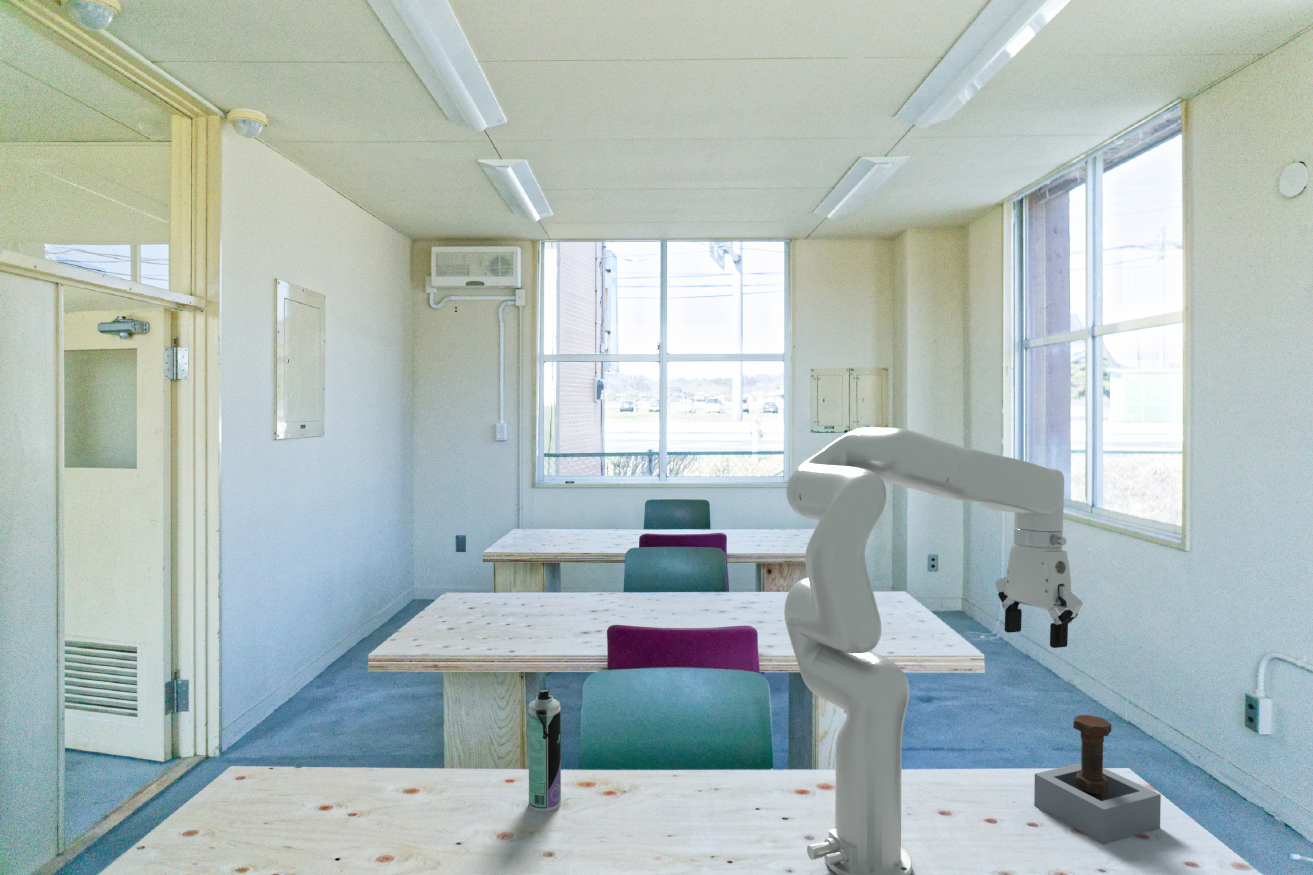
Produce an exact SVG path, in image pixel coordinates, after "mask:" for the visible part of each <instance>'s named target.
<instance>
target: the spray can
mask: <svg viewBox="0 0 1313 875" xmlns="http://www.w3.org/2000/svg"><path fill="white" fill-rule="evenodd" d="M550 693H551V692H550V689H549V688H541V689H540V691H539V693H538V695H537V696H536V698H535V699H534V700H533V701H531V702H530V703H529V704H528V807H529V809H530V810H531V811H533V812H535V813H540V814H541V813H543V814H544V813H545V814H546V813H551V812H553V811H555V810H557V809H559V808H560V807H561V803H562V782H561V781H562V778H561V776H562V774H561V773H562V769H561V768H562V767H561V766H562V765H561V763H562V761H561V760H562V758H561V752H562V751H561V749H562V748H561V747H562V746H561V745H562V744H561V739H562V738H561V736H562V734H561V733H562V732H561V724H562V723H561V702H560V701H559V700H558V699H555V698H553V695H551V694H550Z"/></svg>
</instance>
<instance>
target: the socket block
mask: <svg viewBox="0 0 1313 875" xmlns="http://www.w3.org/2000/svg"><path fill="white" fill-rule="evenodd" d="M1078 772H1081V762H1080V763H1075V764H1070V765H1067V766H1062V767H1058V768H1053V769H1049V770H1045V771H1040V772H1036V773H1034V800H1033V802H1034V806H1036V807H1037V808H1039V809H1040V810H1042V811H1044V812H1045V813H1048V814H1050V815H1051V816H1053V817H1054V818H1056V819H1058V820H1060V821H1062V822H1063V823H1065V824H1067V825H1069V826H1070V827H1071V828H1074V829H1075V830H1078V831H1079V832H1081V833H1082V834H1084V835H1086V836H1088V837H1090V838H1092V839H1094V840H1096V841H1097V842H1099V843H1100V844H1103V845H1106V844H1109V843H1113V842H1117V841H1120V840H1123V839H1127V838H1131V837H1133V836H1136V835H1140V834H1144V833H1148V832H1150V831H1155V830H1158V829H1161V803H1162V802H1161V801H1162V800H1161V794H1160V793H1158V792H1156V791H1154V790H1152V789H1150V788H1148V787H1145V786H1143V785H1141V784H1139V783H1137V782H1135V781H1133V780H1130V779H1128V778H1126V777H1124V776H1122V775H1120V774H1117V773H1115V772H1113V771H1111V770H1109V769H1107V768H1104V767H1103V776H1104V777H1105V778H1106V779H1107V780H1108V788H1107V791H1106V792H1105V793H1103V794H1102V801H1100V800H1098V799H1096V798H1094V797H1092V796H1090V795H1088V794H1086V793H1084V792H1082V791H1081V789H1080V788H1079V787H1078V786H1077V785H1076V784H1075V781H1076V775H1077V773H1078Z"/></svg>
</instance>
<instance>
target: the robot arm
mask: <svg viewBox="0 0 1313 875" xmlns="http://www.w3.org/2000/svg"><path fill="white" fill-rule="evenodd" d="M1064 476H1065V475H1064V474H1063V472H1062V471H1061V470H1059V469H1057V468H1049V467H1045V466H1041V465H1038V464H1035V463H1033V462H1029V461H1026V460H1022V459H1018V458H1013V457H1008V456H1004V455H999V454H995V453H990V452H986V451H982V450H978V449H974V448H969V447H966V446H961V445H957V444H954V443H950V442H947V441H945V440H940V439H937V438H935V437H932V436H928V435H925V434H922V433H920V432H919V433H918V432H916V431H913V430H910V429H905V428H900V427H899V428H898V427H859V428H856V429H853V430H850V431H848V432H847V433H844V435H842V436H841V437H838V438H837V439H835V440H833V442H831V443H830V444H828V445H827V446H826V447H824V448H823V449H821V450H820V451H818V452H817V453H816V454H814V455H812V456H811V457H810V458H808V459H807V460H805V461H804V462H802V463H801V464H799V466H798V467H797V468H796V469H795V470H794V471H793V472H792V473H791V475H790V477H789V479H788V482H787V486H786V499H787V501H788V505H790V507H791V508H792V510H793V511H794V512H795V513H797V514H799V516H802V517H804V518H806V519H809V520H810V519H811V520H817V521H818V523H817V525H816V527H815V529H814V530H813V533H812V535H811V537H810V539H809V541H808V543H807V546H806V550H805V554H804V555H805V556H804V557H805V558H804V560H805V561H804V562H805V564H804V565H805V569H806V574H807V577H805V578H802V579H800V580H799V581H797V582H796V583H794V584H793V586H792V587H791V588H790V589H789V591H788V593H787V595H786V599H785V603H784V621H785V626H786V630H787V633H788V636H789V640H790V644H791V647H792V649H793V653H794V654H793V655H794V656H795V660H796V662H797V666H798V669H799V670H798V671H799V672H800V675H801V677H802V680H803V682H804V684H805V685H806V687H807V688H808V690H809V691H811V693H813V694H814V695H816V696H817V697H819V698H820V699H822V700H824V701H827V702H828V703H831V704H833V705H835V706H837V707H838V708H840V709H842V710H844V711H845V714H846V717H845V720H844V722H843V723H842V725H841V727H840V729H839V731H838V732H837V735H836V740H835V750H834V751H835V754H834V756H835V757H834V758H835V792H834V793H835V798H834V799H835V801H834V802H835V809H834V812H835V813H834V814H835V815H834V817H835V818H834V820H835V821H834V824H835V827H834V829H830V830H828V838H826V839H824V842H818V843H813V844H808V845H807V847H806V853H807V855H808V857H809V859H810V860H812V861H813V860H814V861H815V860H817V859H822V858H824V862H825V864H826V866H828V867H829V869H830V870H832V872H834V874H836V875H911V874H912V871H913V864H912V863H913V862H912V858H911V855H909V853H908V852H907V850H905V849H904V848H903V847H902V773H903V772H902V771H903V770H902V751H903V750H902V749H903V748H902V744H903V731H904V724H905V717H906V712H907V710H908V709H907V708H908V703H909V698H910V685H909V684H910V683H909V680H908V678H907V676H906V674H905V672H904V671H903V669H902V668H901V667H900V666H899V665H898V664H897V663H895V662H894V661H892V660H891V659H890V658H888V657H886V656H884V655H882V654H879V653H876V652H874V651H872V650H874V649H875V648H876V647H877V645H878V644H879V643H880V640H881V637H882V620H881V615H880V612H879V608H878V605H877V601H876V597H875V594H874V590H873V586H872V583H871V580H870V575H869V572H868V569H867V563H866V557H865V556H866V555H865V554H866V546H867V543H868V540H869V537H870V535H871V533H872V531H873V529H874V527H875V526H876V524H877V523H878V520H879V519H880V517H881V515H882V514H883V512H884V509H885V507H886V502H887V488H886V484H885V483H890V484H893V485H897V486H901V487H904V488H908V489H912V490H916V491H920V492H923V493H928V494H931V495H934V496H938V497H940V498H946V499H951V500H957V501H963V502H964V501H965V502H975V503H977V504H978V505H980V506H982V507H984V508H985V509H989V510H992V511H1000V512H1007V513H1014V514H1013V516H1014V517H1013V518H1014V519H1013V520H1014V521H1013V544H1011V548H1010V551H1009V555H1008V561H1007V568H1006V576H1004V577H1002V578H1000V579H997V580H996V581H995V583H994V584H995V586H996V590H997V592H998V595H997V596H998V598H999V599H1000V601H1001V603H1002V604H1001V607H1002V609H1004V632H1005V633H1007V634H1008V633H1020V632H1021V631H1022V614H1023V612H1022V608H1020V606H1021V605H1022V604H1023V605H1026V606H1030V607H1033V608H1036V609H1041V610H1043V611H1047V612H1048V614H1049V616H1050V618H1051V620H1052V621H1053V622H1051V623H1050V626H1049V627H1050V628H1049V630H1050V631H1049V646H1050V648H1053V649H1059V648H1066V647H1068V640H1069V639H1068V638H1069V637H1068V635H1069V624H1072V623H1073V621H1074V620H1075V619H1076V618H1077V616H1078V615H1079V614H1078V613H1079V612H1080V610H1081V608H1082V606H1083V601H1082V600H1081V599H1080V598H1079V597H1078V596H1077V595H1075V594H1074V593H1073V592H1072V581H1071V580H1072V579H1071V569H1070V562H1069V556H1068V553H1067V550H1064V549H1063V546H1064V545H1066V544H1067V538H1066V537H1065V536H1063V534H1064V510H1065V508H1064V501H1065V477H1064Z"/></svg>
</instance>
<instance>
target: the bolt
mask: <svg viewBox="0 0 1313 875" xmlns="http://www.w3.org/2000/svg"><path fill="white" fill-rule="evenodd" d="M1072 724H1073V725H1072V726H1073V729H1075V730H1077V731H1080V739H1081V746H1080V749H1081V750H1080V758H1081V759H1080V763H1081V772H1078V773H1077V775H1076V781H1075V784H1076V785H1077V786H1078V787H1079V788H1080V789H1081V791H1082V792H1084V793H1086V794H1088V795H1090V796H1092V797H1094V798H1096V799H1098V800H1100V801H1102V794H1103V793H1105V792H1106V791H1107V788H1108V780H1107V779H1106V778H1105V777H1104V776H1103V768H1104V767H1103V766H1104V765H1103V764H1104V763H1103V762H1104V741H1105V737H1108V736H1109V735H1110V733H1111V732H1112V723H1111V722H1110V721H1108V720H1107V719H1106V718H1103V717H1099V716H1095V715H1092V714H1091V715H1090V714H1080V715H1075V717H1074V720H1073V723H1072Z"/></svg>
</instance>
